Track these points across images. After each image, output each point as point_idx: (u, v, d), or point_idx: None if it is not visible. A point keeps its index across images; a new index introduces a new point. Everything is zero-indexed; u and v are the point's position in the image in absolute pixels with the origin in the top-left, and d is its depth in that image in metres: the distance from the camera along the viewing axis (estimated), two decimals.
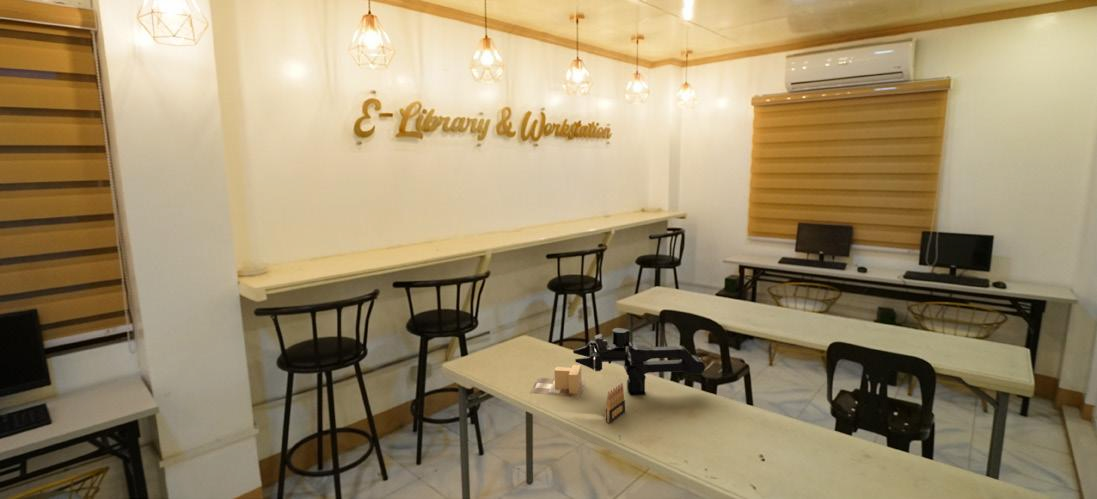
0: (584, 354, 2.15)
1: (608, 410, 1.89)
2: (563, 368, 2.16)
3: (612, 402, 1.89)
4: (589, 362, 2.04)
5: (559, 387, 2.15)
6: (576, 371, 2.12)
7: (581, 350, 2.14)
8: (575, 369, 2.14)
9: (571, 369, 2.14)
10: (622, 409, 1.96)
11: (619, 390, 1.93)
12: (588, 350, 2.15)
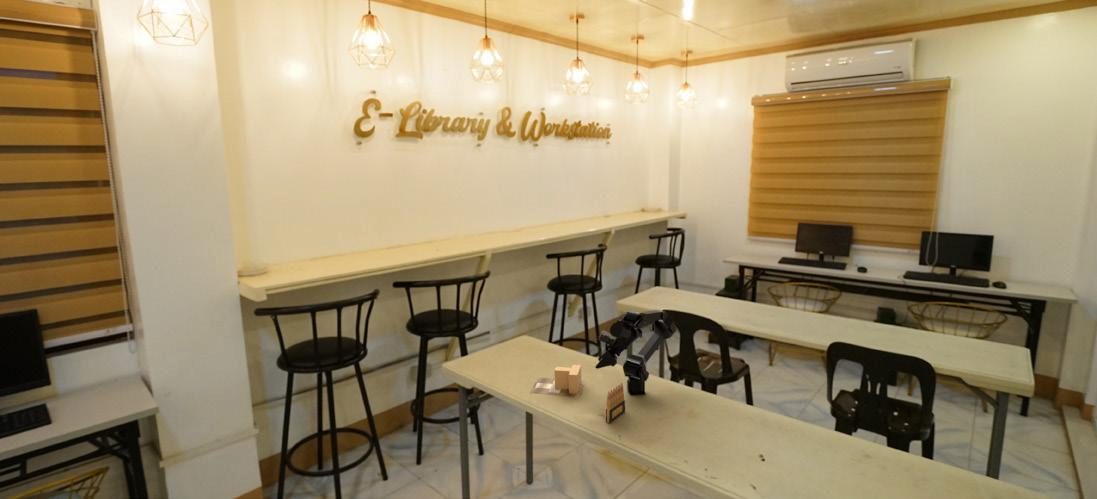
0: None
1: (608, 410, 1.89)
2: (563, 368, 2.16)
3: (612, 402, 1.89)
4: (606, 361, 2.04)
5: (559, 387, 2.15)
6: (576, 371, 2.12)
7: None
8: (575, 369, 2.14)
9: (571, 369, 2.14)
10: (622, 409, 1.96)
11: (619, 390, 1.93)
12: None
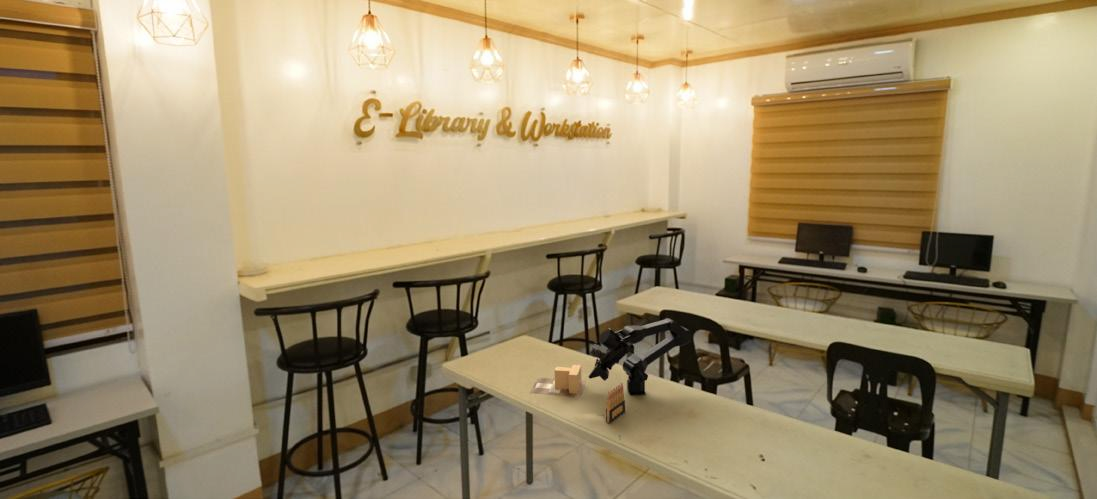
0: None
1: (608, 410, 1.89)
2: (563, 368, 2.16)
3: (612, 402, 1.89)
4: None
5: (559, 387, 2.15)
6: (576, 371, 2.12)
7: None
8: (575, 369, 2.14)
9: (571, 369, 2.14)
10: (622, 409, 1.96)
11: (619, 390, 1.93)
12: None
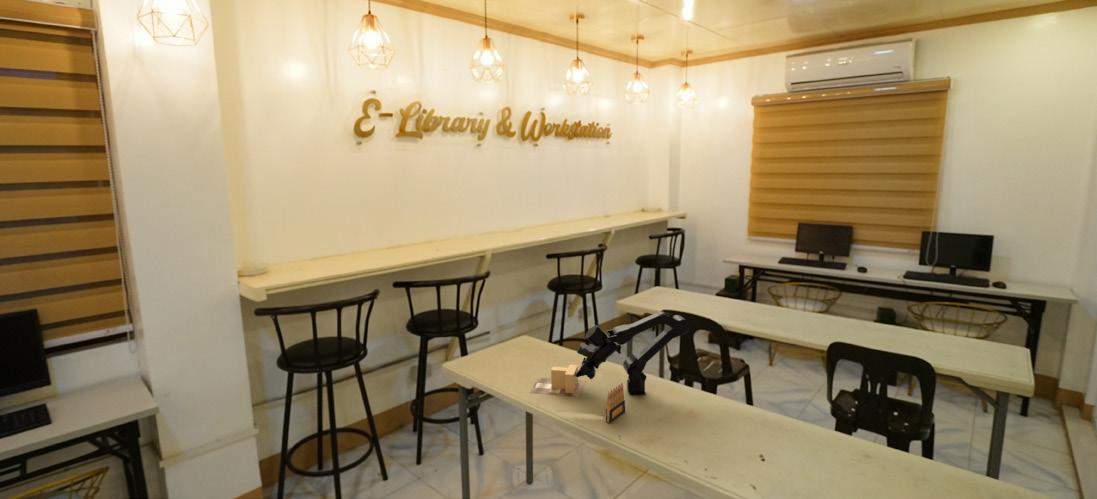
0: None
1: (608, 410, 1.89)
2: (560, 367, 2.16)
3: (612, 402, 1.89)
4: None
5: (555, 386, 2.15)
6: (572, 371, 2.12)
7: None
8: (571, 369, 2.14)
9: (568, 369, 2.14)
10: (622, 409, 1.96)
11: (619, 390, 1.93)
12: None
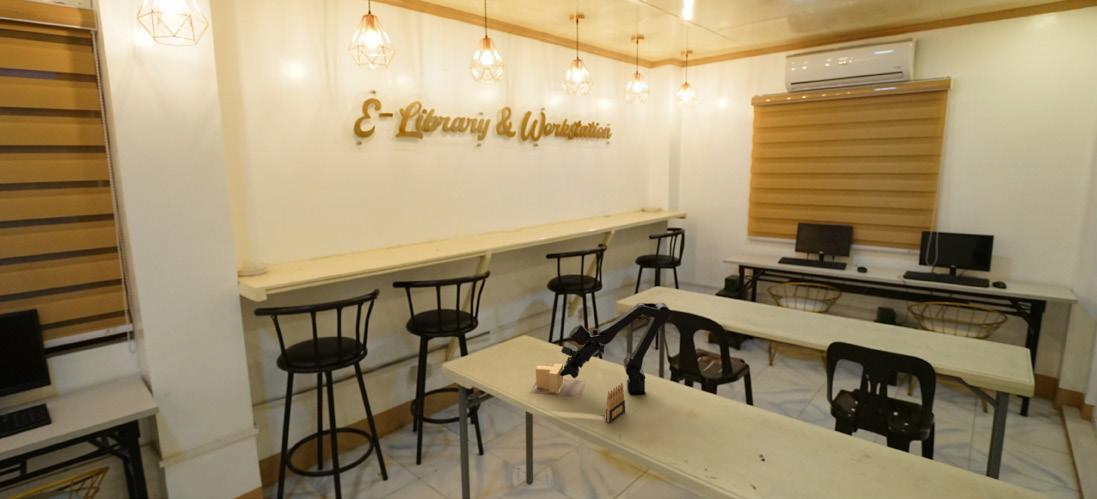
0: None
1: (608, 410, 1.89)
2: (545, 366, 2.17)
3: (612, 402, 1.89)
4: None
5: (540, 385, 2.17)
6: (557, 370, 2.14)
7: None
8: (556, 368, 2.15)
9: (552, 368, 2.16)
10: (622, 409, 1.96)
11: (619, 390, 1.93)
12: None
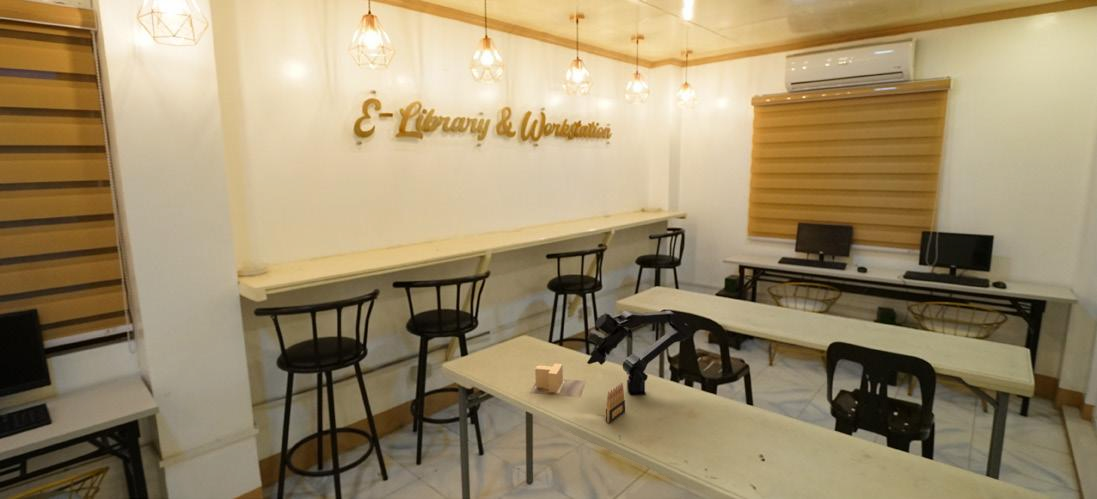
0: None
1: (608, 410, 1.89)
2: (544, 366, 2.18)
3: (612, 402, 1.89)
4: None
5: (539, 385, 2.17)
6: (556, 370, 2.14)
7: None
8: (555, 368, 2.16)
9: (552, 368, 2.16)
10: (622, 409, 1.96)
11: (619, 390, 1.93)
12: None
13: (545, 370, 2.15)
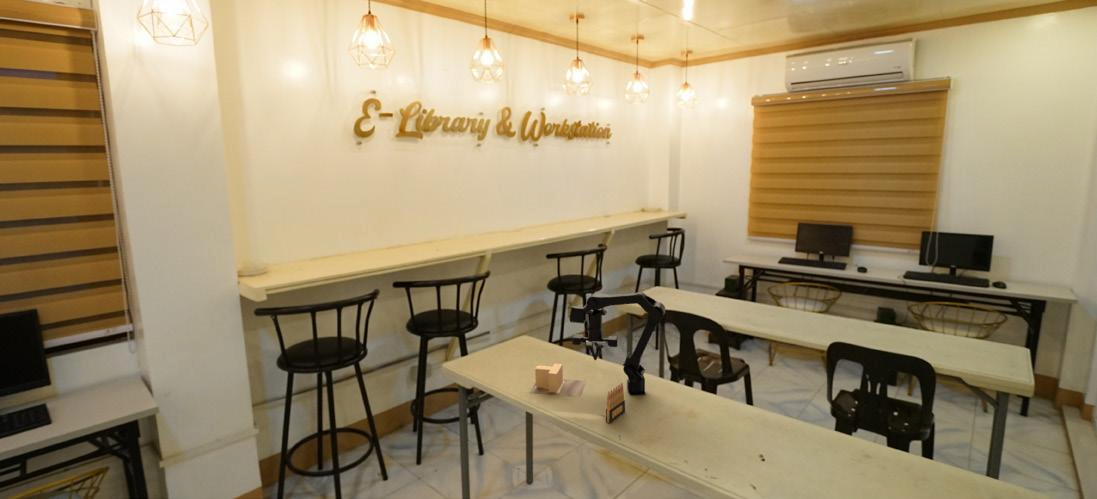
0: None
1: (608, 410, 1.89)
2: (544, 366, 2.18)
3: (612, 402, 1.89)
4: None
5: (539, 385, 2.17)
6: (556, 370, 2.14)
7: None
8: (555, 368, 2.16)
9: (552, 368, 2.16)
10: (622, 409, 1.96)
11: (619, 390, 1.93)
12: (597, 345, 2.16)
13: (545, 370, 2.15)
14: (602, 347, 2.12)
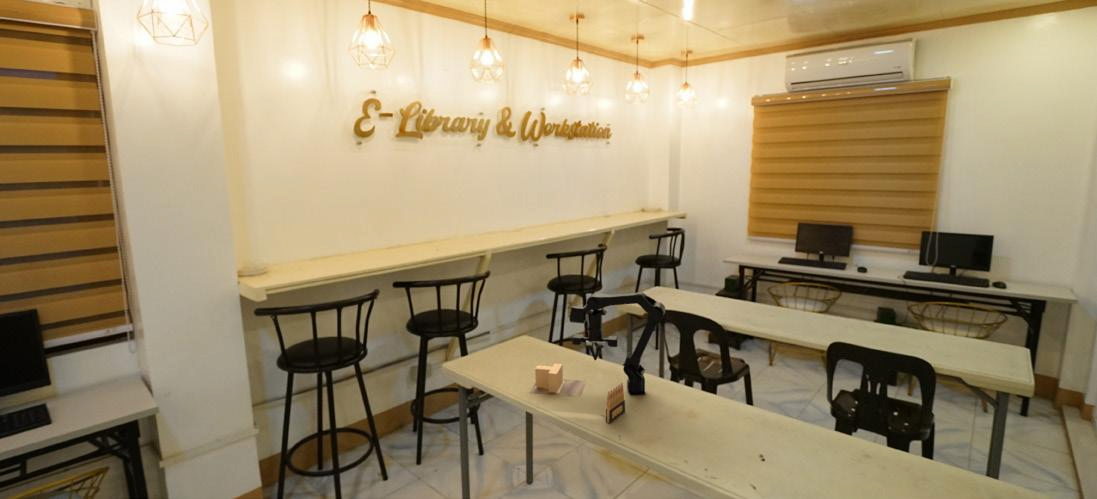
0: None
1: (608, 410, 1.89)
2: (544, 366, 2.18)
3: (612, 402, 1.89)
4: None
5: (539, 385, 2.17)
6: (556, 370, 2.14)
7: None
8: (555, 368, 2.16)
9: (552, 368, 2.16)
10: (622, 409, 1.96)
11: (619, 390, 1.93)
12: (597, 345, 2.16)
13: (545, 370, 2.15)
14: (602, 347, 2.12)
